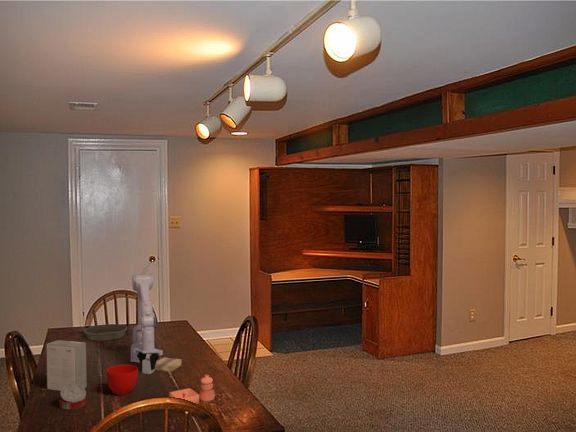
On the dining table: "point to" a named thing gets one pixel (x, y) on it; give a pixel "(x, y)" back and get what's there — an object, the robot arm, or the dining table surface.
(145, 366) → the gray block
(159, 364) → the maple pedestal
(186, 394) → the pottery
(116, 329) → the cake pan
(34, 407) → the dining table surface
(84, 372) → the hard drive box
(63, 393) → the canned food
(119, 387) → the ceramic cup
